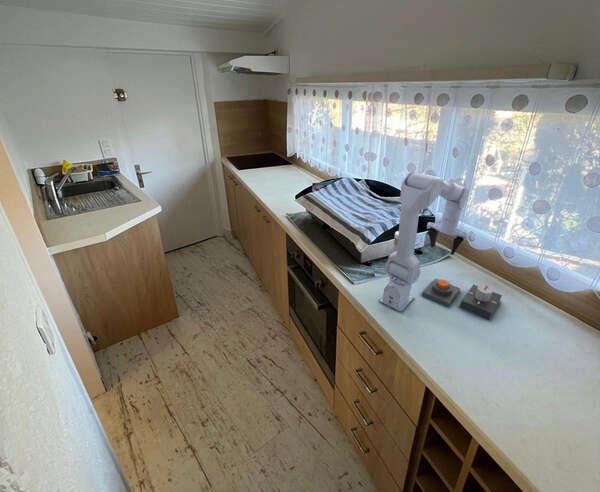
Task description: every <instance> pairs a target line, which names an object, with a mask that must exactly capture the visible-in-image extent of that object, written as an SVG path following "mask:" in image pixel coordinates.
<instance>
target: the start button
mask: <svg viewBox="0 0 600 492" xmlns="http://www.w3.org/2000/svg"><path fill="white" fill-rule="evenodd" d="M438 280H439V281H438V284H437V287H438V288H440V289H443V290H447V289H448V287H449V284H450V282H449V281H447V280H445V279H438Z"/></svg>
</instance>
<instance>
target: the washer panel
mask: <svg viewBox="0 0 600 492" xmlns="http://www.w3.org/2000/svg"><path fill="white" fill-rule="evenodd" d="M478 286H479V285H476V284H472V285H471V287H470V289H469V290H468V291H467V293H466V294H465V296H463V298H462V300H461V302H460V305H459V308H460V309H462V310H465V311H466V312H470V313H472V314H474V315H476V316H478V317H481V318H484V319H485V320H487V321H490V319H492V316H493V314H494V312H495V311H496V309H497V307H498V305H499V303H500V302H501V298H502V294H500V293H498V292H495V291H493V292H492V295H491V297H490V300H489V301H488V302H483V301H480V300H478V299H476V297H475V293H476V290H477V287H478Z"/></svg>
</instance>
